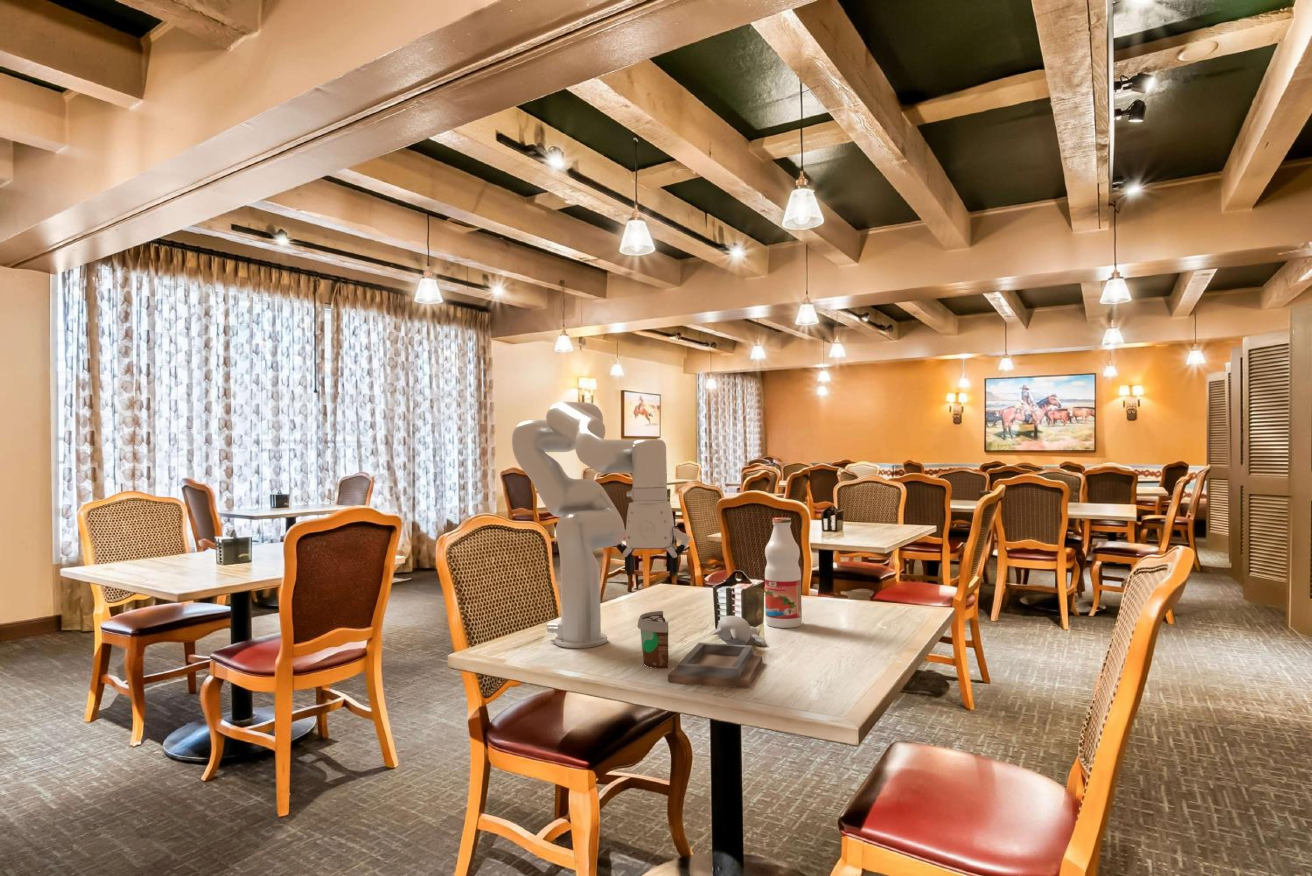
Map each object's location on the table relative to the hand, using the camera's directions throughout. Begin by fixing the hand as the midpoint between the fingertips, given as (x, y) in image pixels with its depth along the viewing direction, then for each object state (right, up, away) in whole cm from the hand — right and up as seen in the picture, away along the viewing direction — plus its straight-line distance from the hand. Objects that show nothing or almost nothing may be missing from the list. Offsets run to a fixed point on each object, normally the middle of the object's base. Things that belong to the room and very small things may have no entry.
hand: (651, 575), depth 158 cm
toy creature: (+20, -19, +12) cm, 30 cm away
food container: (0, -19, 0) cm, 19 cm away
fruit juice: (+35, -20, +34) cm, 52 cm away
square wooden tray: (+14, -19, -8) cm, 24 cm away
